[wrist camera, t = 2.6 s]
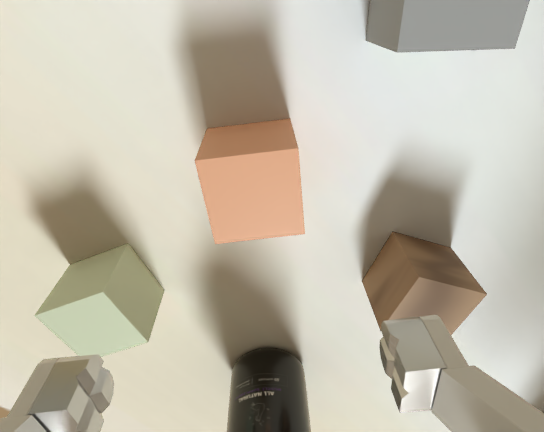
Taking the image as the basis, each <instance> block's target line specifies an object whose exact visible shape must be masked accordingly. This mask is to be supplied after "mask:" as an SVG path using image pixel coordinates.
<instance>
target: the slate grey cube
mask: <svg viewBox="0 0 544 432" xmlns="http://www.w3.org/2000/svg"><path fill="white" fill-rule="evenodd" d="M529 1H530V0H370V4H369V14H368V24H367V34H366V41H368V42H371V43H373V44H376V45H379V46H381V47H384V48H387V49H389V50H392V51H395V52H424V51H454V50H485V49H515V46H516V43H517V40H518V37H519V33H520V30H521V27H522V24H523V20H524V17H525V14H526V11H527V7H528V4H529Z"/></svg>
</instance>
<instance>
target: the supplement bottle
mask: <svg viewBox="0 0 544 432" xmlns="http://www.w3.org/2000/svg"><path fill="white" fill-rule="evenodd" d="M227 432H311V428H310V419H309V410H308V401H307V391H306V382H305V375H304V369H303V366H302V364H301V362H300V361H299V360H298V359H297V358H296V357H295V356H294V355H292V354H291V353H289V352H287V351H284V350H280V349H274V348H263V349H257V350H254V351H251V352H248V353H247V354H245V355H243V356H242V357H241V358H240V359H239V360H238V361H237V362H236V363H235V365H234V367H233V370H232V377H231V388H230V399H229V411H228V423H227Z"/></svg>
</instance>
